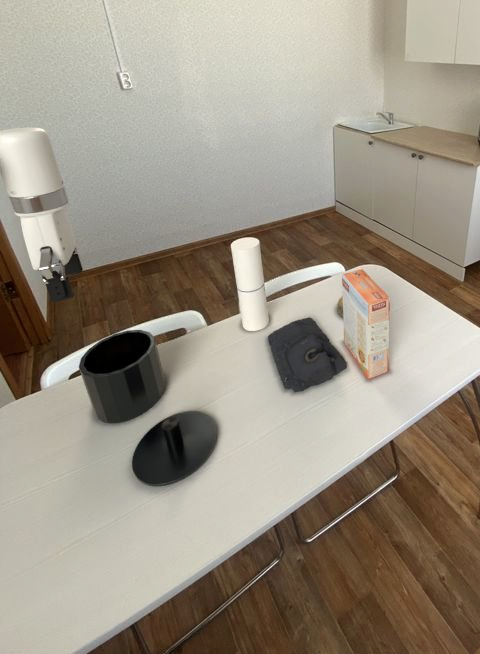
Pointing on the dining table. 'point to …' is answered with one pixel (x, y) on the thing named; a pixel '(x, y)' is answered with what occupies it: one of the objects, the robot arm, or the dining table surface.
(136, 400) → the trash can
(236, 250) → the cylindrical container
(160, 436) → the bin lid
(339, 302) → the cake
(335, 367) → the black fabric pouch
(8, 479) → the dining table surface
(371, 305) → the cracker box
